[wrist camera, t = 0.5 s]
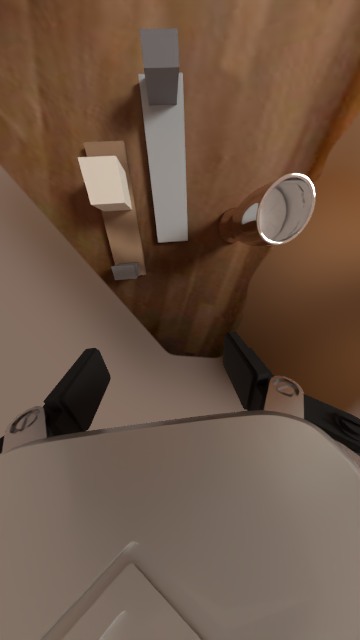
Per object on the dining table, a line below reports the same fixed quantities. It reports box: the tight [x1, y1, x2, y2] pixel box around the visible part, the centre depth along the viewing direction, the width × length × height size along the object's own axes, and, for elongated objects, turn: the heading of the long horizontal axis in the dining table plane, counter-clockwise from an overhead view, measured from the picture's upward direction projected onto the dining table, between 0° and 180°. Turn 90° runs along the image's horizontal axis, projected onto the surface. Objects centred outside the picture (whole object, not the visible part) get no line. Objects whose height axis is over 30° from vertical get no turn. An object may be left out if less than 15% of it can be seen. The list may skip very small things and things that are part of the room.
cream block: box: [78, 156, 132, 211], centre depth 23 cm, size 5×5×5 cm
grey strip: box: [138, 29, 188, 243], centre depth 22 cm, size 20×6×6 cm, turn 4°
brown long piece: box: [83, 141, 146, 280], centre depth 25 cm, size 20×6×6 cm, turn 4°
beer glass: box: [219, 173, 315, 246], centre depth 23 cm, size 7×7×15 cm
